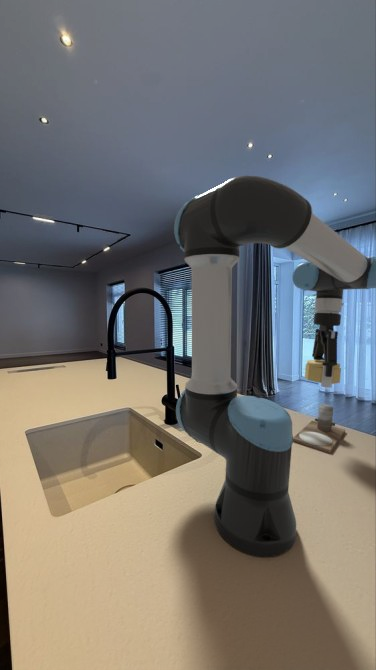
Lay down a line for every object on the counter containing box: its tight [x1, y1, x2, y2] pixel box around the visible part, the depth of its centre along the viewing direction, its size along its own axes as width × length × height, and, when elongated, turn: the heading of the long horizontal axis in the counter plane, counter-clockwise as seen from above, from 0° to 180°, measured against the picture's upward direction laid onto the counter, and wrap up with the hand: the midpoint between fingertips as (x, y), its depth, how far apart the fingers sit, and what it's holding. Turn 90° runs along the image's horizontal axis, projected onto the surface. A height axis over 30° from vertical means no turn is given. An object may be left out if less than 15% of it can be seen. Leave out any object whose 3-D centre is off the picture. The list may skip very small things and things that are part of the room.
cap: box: [304, 359, 342, 385], centre depth 90 cm, size 9×9×6 cm
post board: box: [293, 403, 346, 454], centre depth 93 cm, size 20×11×9 cm, turn 140°
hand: (321, 383), depth 90 cm, fingers closed on cap, 9 cm apart
